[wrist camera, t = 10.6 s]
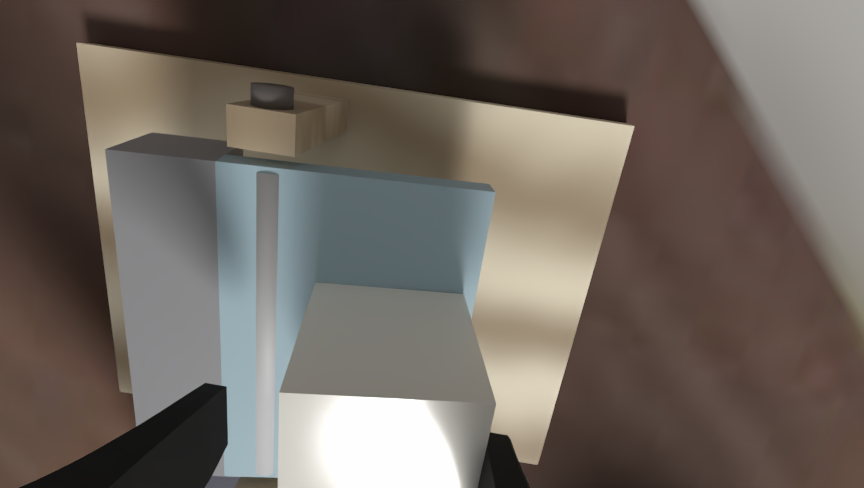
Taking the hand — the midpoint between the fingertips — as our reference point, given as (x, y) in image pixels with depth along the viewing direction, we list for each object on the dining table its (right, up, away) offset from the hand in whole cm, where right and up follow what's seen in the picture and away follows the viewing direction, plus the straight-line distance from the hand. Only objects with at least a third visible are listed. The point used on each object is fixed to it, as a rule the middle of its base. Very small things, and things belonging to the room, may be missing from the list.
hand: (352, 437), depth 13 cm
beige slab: (-2, +4, +9) cm, 10 cm away
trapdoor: (-3, +3, +6) cm, 7 cm away
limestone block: (0, +2, +4) cm, 4 cm away
